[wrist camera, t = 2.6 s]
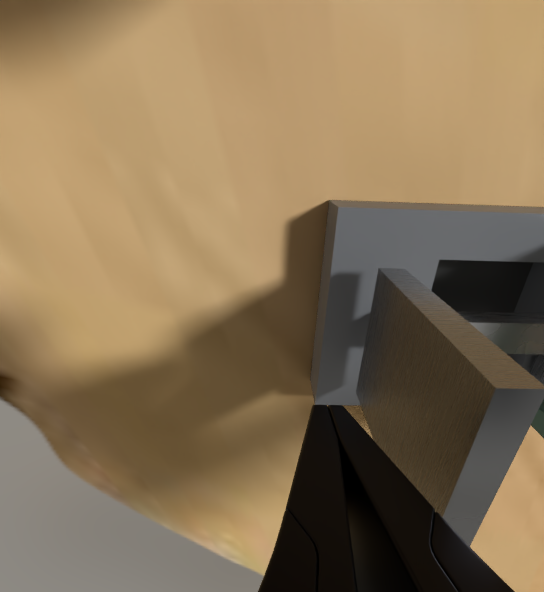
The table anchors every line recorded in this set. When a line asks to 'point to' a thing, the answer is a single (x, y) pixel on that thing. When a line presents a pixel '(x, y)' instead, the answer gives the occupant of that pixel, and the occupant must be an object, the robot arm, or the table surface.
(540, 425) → the tunnel
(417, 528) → the robot arm
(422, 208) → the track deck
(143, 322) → the table surface
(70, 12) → the table surface
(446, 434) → the sled
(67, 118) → the table surface
